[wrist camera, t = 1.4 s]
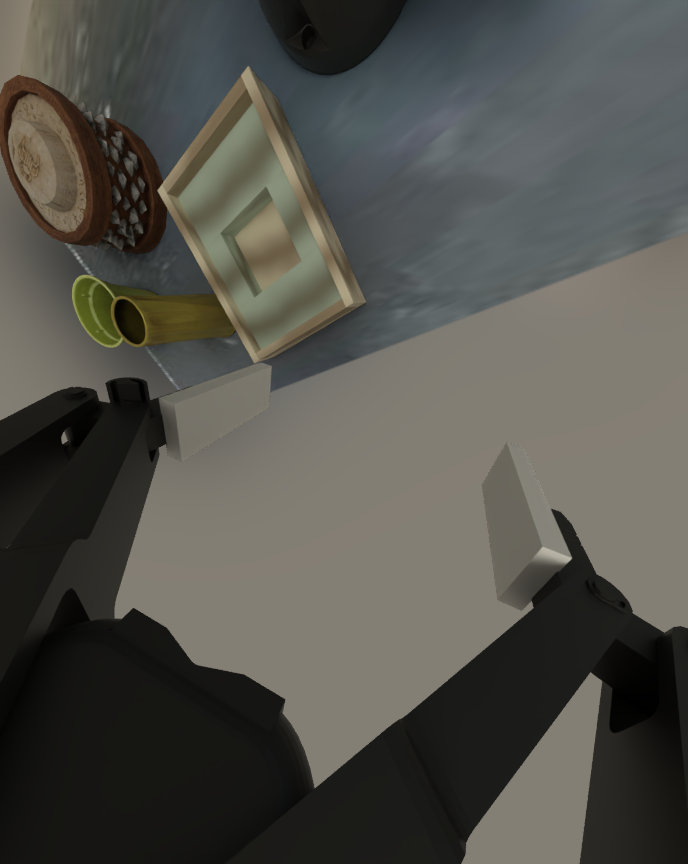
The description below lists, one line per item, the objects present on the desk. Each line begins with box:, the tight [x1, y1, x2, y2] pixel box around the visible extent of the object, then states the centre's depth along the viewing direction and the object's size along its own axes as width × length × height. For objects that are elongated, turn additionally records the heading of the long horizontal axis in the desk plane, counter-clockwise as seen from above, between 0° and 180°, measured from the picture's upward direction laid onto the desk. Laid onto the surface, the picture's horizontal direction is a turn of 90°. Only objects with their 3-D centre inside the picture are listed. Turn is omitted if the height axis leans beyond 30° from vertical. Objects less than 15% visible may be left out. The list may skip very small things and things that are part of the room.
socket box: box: [157, 66, 366, 363], centre depth 34 cm, size 22×16×5 cm
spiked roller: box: [0, 75, 167, 254], centre depth 35 cm, size 15×11×15 cm
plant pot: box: [72, 275, 157, 347], centre depth 43 cm, size 9×9×9 cm
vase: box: [111, 294, 235, 347], centre depth 36 cm, size 6×6×14 cm
